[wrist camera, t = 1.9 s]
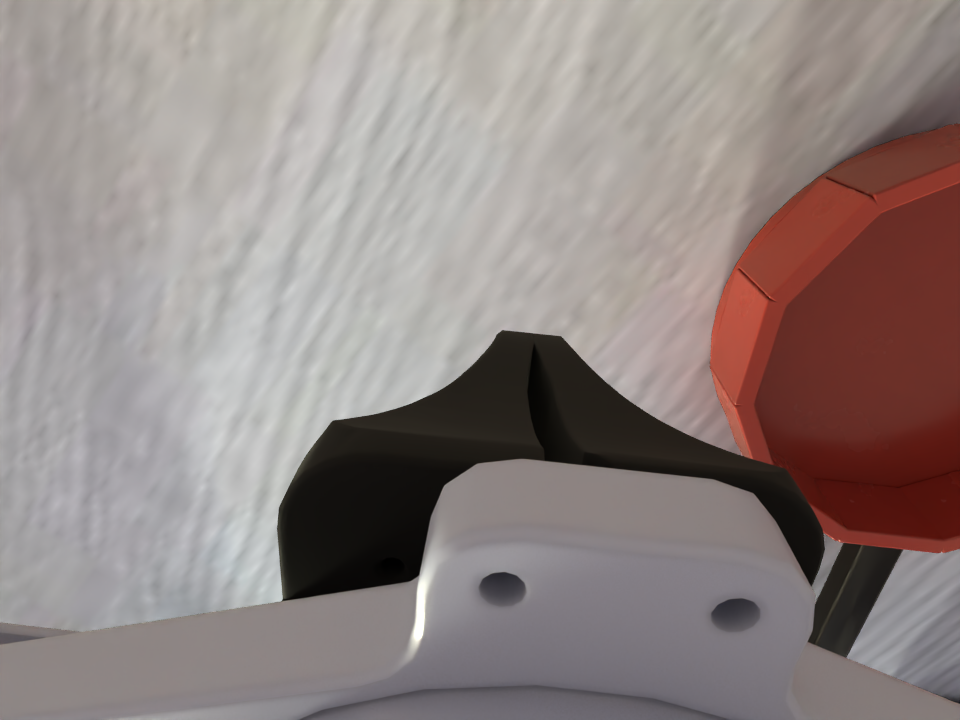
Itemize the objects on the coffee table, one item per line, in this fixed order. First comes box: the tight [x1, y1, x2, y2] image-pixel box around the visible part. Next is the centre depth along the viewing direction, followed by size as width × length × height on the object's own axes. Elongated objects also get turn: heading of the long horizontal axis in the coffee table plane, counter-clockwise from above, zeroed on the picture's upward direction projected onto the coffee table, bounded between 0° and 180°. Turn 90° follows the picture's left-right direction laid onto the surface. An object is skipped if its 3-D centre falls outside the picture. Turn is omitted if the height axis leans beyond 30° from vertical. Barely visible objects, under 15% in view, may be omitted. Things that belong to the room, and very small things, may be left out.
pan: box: [710, 123, 960, 658], centre depth 18 cm, size 17×11×3 cm, turn 175°
